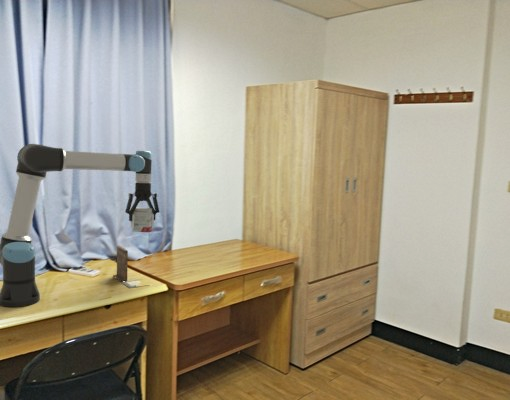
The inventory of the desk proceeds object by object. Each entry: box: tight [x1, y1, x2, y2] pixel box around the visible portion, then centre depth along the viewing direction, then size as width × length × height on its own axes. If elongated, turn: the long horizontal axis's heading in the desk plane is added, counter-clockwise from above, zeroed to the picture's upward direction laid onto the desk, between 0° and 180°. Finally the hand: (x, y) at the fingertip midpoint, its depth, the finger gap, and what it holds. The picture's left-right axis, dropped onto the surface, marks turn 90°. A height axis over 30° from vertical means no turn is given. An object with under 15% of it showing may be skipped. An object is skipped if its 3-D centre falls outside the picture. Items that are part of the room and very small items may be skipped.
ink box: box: [131, 206, 153, 233], centre depth 231 cm, size 9×5×12 cm, turn 84°
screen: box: [112, 245, 129, 283], centre depth 227 cm, size 3×12×15 cm, turn 33°
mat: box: [122, 279, 141, 289], centre depth 220 cm, size 10×10×1 cm
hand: (142, 227), depth 231 cm, fingers closed on ink box, 9 cm apart
